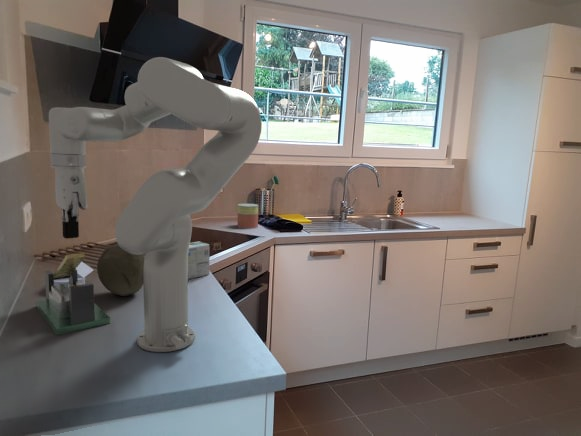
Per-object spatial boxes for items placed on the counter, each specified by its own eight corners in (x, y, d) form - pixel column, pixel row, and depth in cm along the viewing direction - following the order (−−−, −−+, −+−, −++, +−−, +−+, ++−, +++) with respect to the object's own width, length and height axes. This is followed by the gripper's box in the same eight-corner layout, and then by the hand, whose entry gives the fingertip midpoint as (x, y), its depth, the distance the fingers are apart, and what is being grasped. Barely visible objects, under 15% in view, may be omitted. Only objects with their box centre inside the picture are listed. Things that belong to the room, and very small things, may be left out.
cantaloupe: (157, 289, 136) (156, 241, 134) (132, 305, 123) (131, 252, 120) (115, 284, 139) (113, 237, 137) (86, 300, 125) (84, 248, 123)
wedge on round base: (65, 279, 143) (46, 293, 130) (64, 259, 141) (45, 270, 129) (94, 280, 143) (78, 293, 131) (93, 259, 142) (77, 271, 129)
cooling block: (110, 323, 110) (108, 282, 109) (56, 335, 103) (54, 291, 101) (83, 298, 127) (82, 262, 125) (36, 306, 119) (34, 268, 117)
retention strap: (85, 257, 108) (84, 251, 108) (67, 260, 105) (66, 253, 106) (69, 278, 122) (68, 272, 122) (53, 280, 119) (52, 275, 120)
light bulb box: (199, 270, 158) (199, 240, 156) (210, 274, 153) (210, 244, 152) (172, 275, 151) (172, 244, 149) (182, 280, 146) (182, 248, 144)
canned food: (262, 227, 244) (262, 205, 242) (247, 229, 236) (247, 207, 234) (248, 224, 252) (248, 203, 250) (232, 226, 243) (233, 204, 241)
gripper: (95, 164, 102) (96, 242, 105) (76, 159, 113) (78, 230, 116) (59, 163, 97) (61, 245, 100) (43, 159, 109) (46, 233, 112)
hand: (70, 237), depth 108 cm, fingers closed
